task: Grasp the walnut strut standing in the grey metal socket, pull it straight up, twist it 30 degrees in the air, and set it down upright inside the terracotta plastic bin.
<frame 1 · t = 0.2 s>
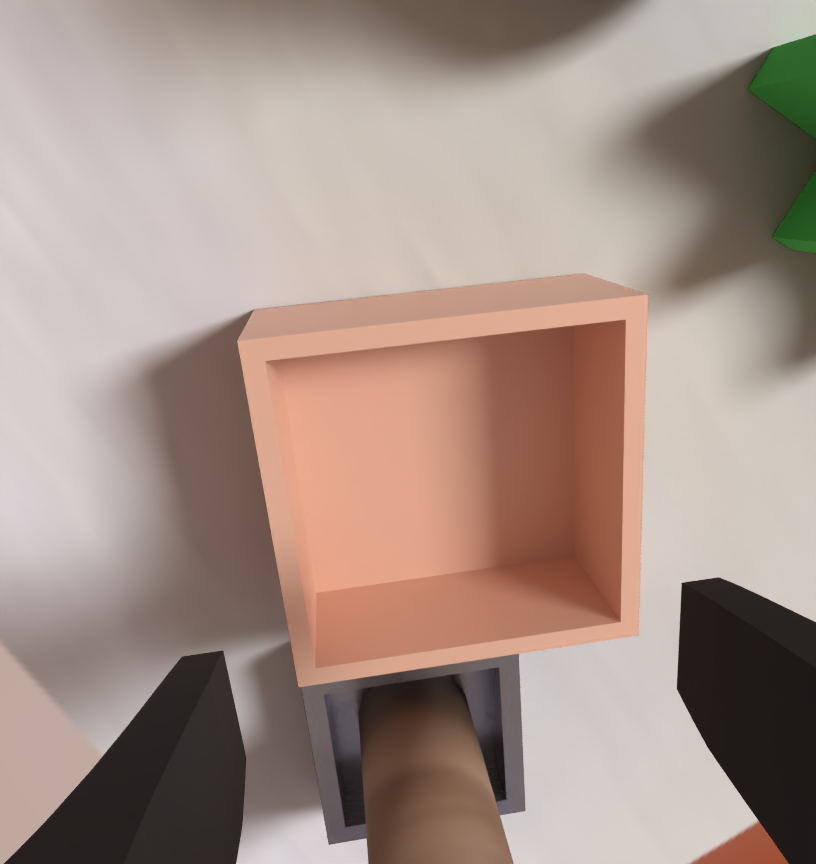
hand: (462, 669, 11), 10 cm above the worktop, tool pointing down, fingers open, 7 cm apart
terracotta bin: (435, 446, 20), on the worktop
metal socket: (411, 702, 23), on the worktop
walnut strut: (413, 714, 23), point 1 cm above the worktop, touching metal socket
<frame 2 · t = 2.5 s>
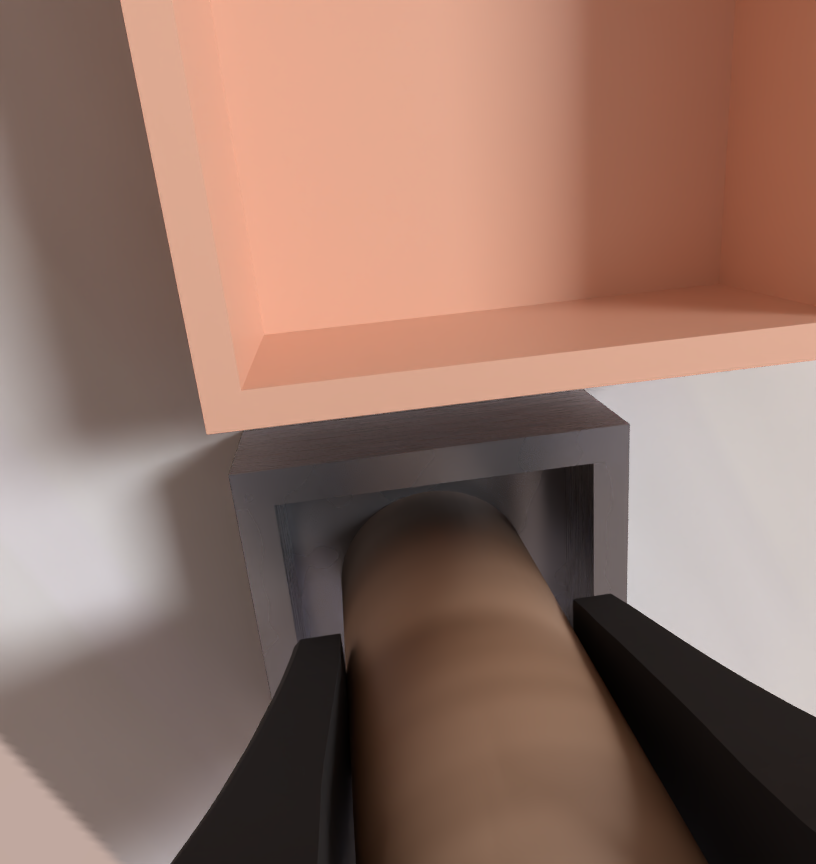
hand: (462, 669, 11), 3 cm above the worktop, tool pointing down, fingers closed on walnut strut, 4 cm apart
terracotta bin: (478, 54, 11), on the worktop
metal socket: (430, 561, 14), on the worktop
walnut strut: (434, 576, 13), point 1 cm above the worktop, touching gripper, metal socket
when the fingers open (5 cm above the worktop, at t = 7.1 s): walnut strut drops 1 cm, resting on terracotta bin.
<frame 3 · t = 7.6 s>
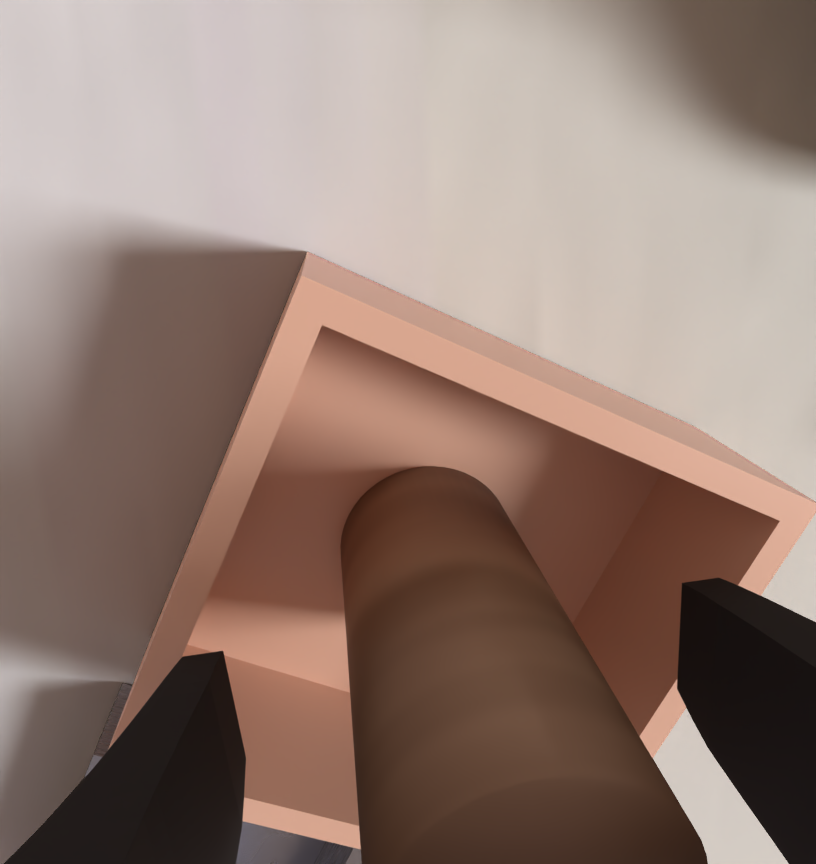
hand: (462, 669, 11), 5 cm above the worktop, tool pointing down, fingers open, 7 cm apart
terracotta bin: (422, 533, 15), on the worktop
metal socket: (212, 822, 17), on the worktop
walnut strut: (426, 545, 15), point 1 cm above the worktop, touching terracotta bin
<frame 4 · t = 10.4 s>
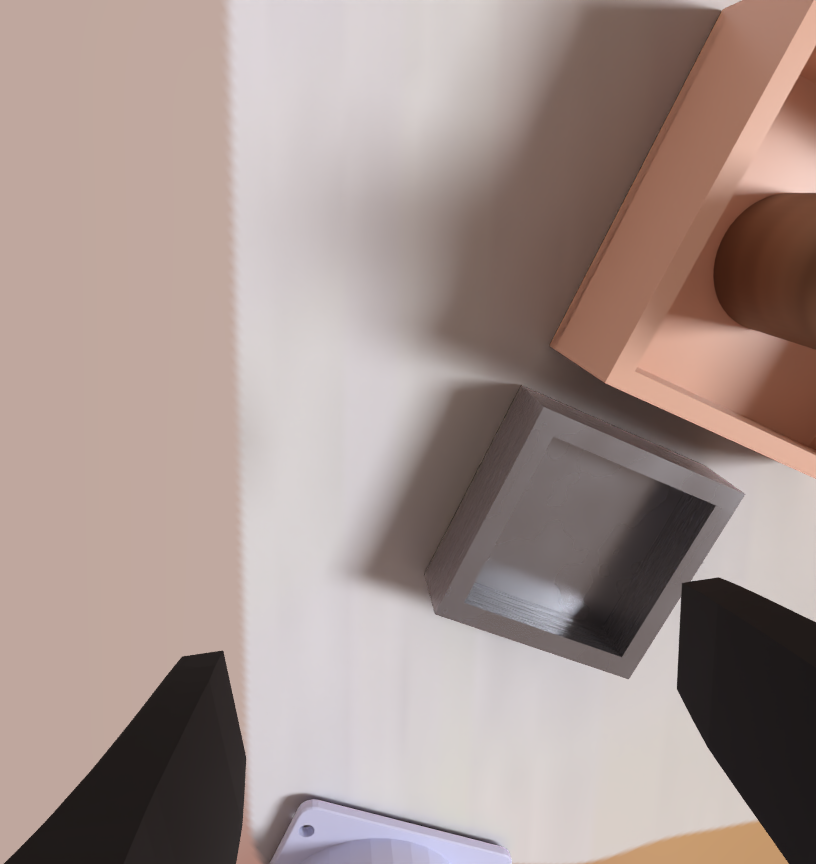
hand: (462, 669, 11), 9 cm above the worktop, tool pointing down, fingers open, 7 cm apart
terracotta bin: (766, 261, 19), on the worktop
metal socket: (564, 520, 21), on the worktop
walnut strut: (777, 263, 19), point 1 cm above the worktop, touching terracotta bin
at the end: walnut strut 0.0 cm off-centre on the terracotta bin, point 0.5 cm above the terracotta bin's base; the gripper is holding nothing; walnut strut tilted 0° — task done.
